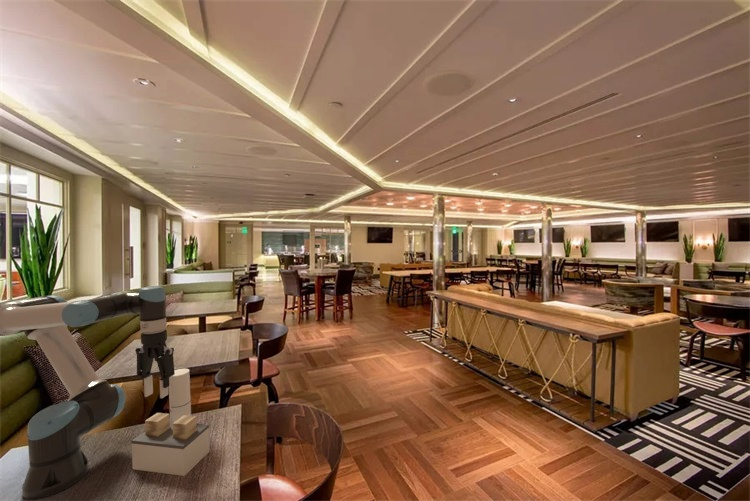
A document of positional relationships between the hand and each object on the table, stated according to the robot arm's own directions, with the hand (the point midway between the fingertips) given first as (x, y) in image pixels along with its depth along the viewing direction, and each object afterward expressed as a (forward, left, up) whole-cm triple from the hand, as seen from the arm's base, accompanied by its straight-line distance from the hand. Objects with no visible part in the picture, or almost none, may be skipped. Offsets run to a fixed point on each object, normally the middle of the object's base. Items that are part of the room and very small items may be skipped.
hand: (156, 395), depth 110 cm
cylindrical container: (-3, +14, -23) cm, 27 cm away
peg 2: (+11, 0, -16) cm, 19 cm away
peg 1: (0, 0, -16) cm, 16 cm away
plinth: (+6, 0, -23) cm, 23 cm away
